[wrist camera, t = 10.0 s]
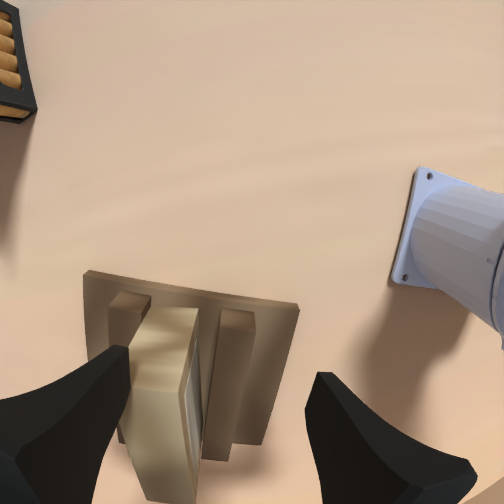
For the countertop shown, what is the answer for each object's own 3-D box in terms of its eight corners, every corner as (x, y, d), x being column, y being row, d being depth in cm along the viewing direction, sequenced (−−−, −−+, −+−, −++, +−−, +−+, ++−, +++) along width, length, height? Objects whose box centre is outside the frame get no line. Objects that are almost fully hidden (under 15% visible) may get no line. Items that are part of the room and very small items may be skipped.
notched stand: (297, 303, 21) (307, 329, 17) (260, 437, 24) (263, 467, 21) (89, 270, 19) (65, 289, 16) (99, 409, 23) (87, 436, 19)
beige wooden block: (198, 308, 19) (178, 392, 12) (203, 422, 22) (195, 506, 14) (150, 305, 19) (108, 384, 11) (165, 418, 22) (146, 500, 14)
